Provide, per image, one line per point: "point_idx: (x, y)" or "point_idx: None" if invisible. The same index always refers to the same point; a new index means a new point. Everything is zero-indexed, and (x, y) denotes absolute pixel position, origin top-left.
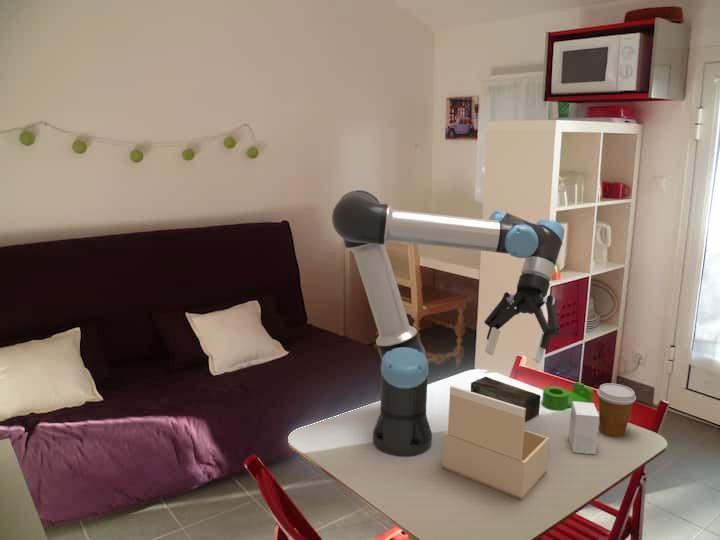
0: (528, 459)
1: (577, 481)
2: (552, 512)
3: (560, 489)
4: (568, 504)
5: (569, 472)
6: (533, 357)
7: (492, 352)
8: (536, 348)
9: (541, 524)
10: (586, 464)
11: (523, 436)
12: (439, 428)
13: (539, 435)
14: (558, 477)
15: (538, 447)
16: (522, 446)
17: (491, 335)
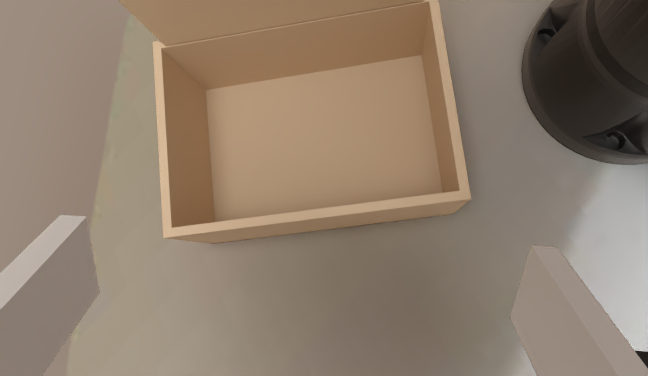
0: (154, 67)
1: (135, 265)
2: (129, 99)
3: (152, 198)
4: (114, 154)
5: (167, 292)
6: (71, 221)
7: (520, 318)
8: (19, 267)
9: (129, 45)
10: (149, 369)
11: (122, 3)
12: (599, 227)
13: (195, 227)
14: (179, 246)
15: (162, 151)
16: (142, 21)
17: (613, 356)
